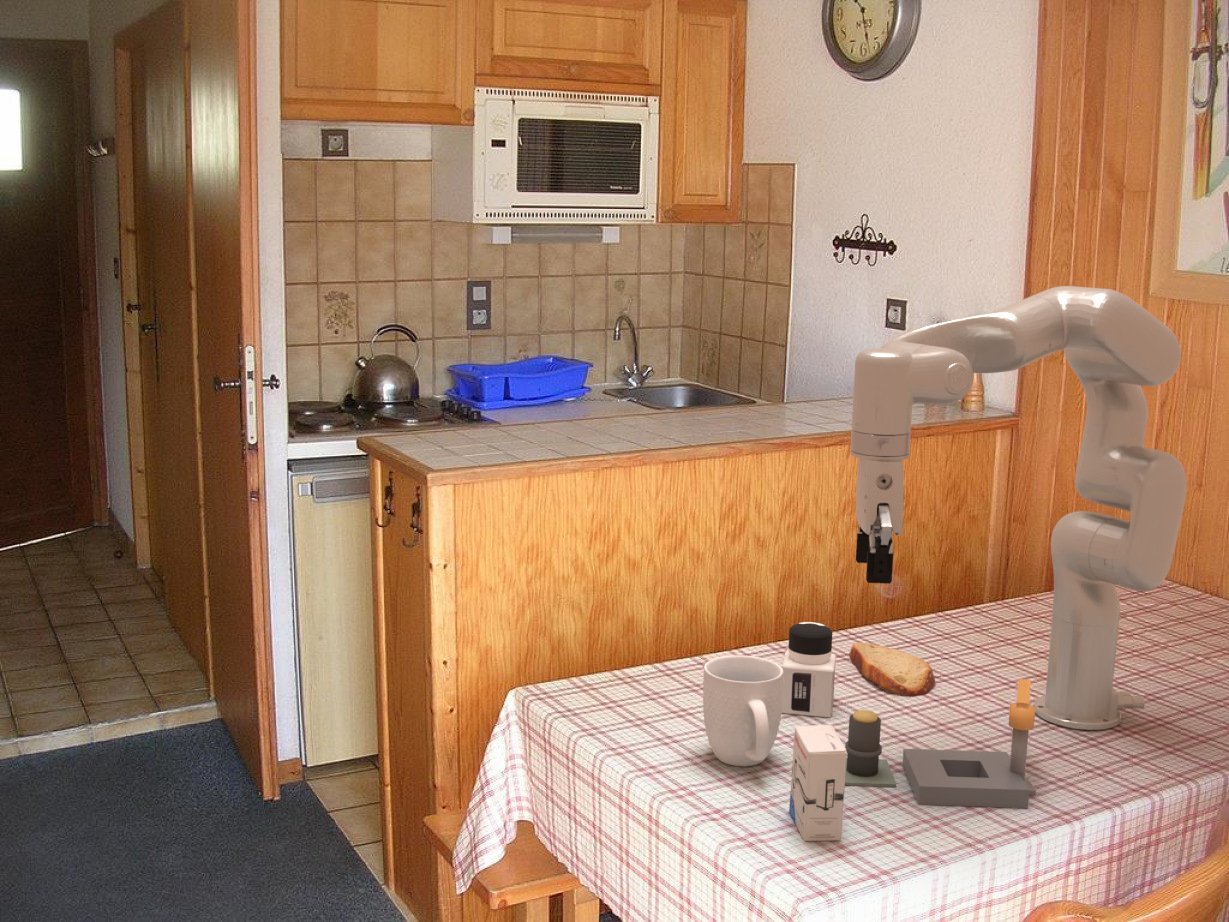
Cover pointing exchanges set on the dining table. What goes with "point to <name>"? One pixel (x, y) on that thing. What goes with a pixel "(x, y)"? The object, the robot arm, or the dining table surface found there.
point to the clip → (1022, 708)
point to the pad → (873, 777)
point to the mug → (742, 707)
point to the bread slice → (893, 669)
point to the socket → (970, 776)
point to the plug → (863, 743)
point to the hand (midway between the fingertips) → (873, 572)
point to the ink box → (818, 782)
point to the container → (809, 671)
